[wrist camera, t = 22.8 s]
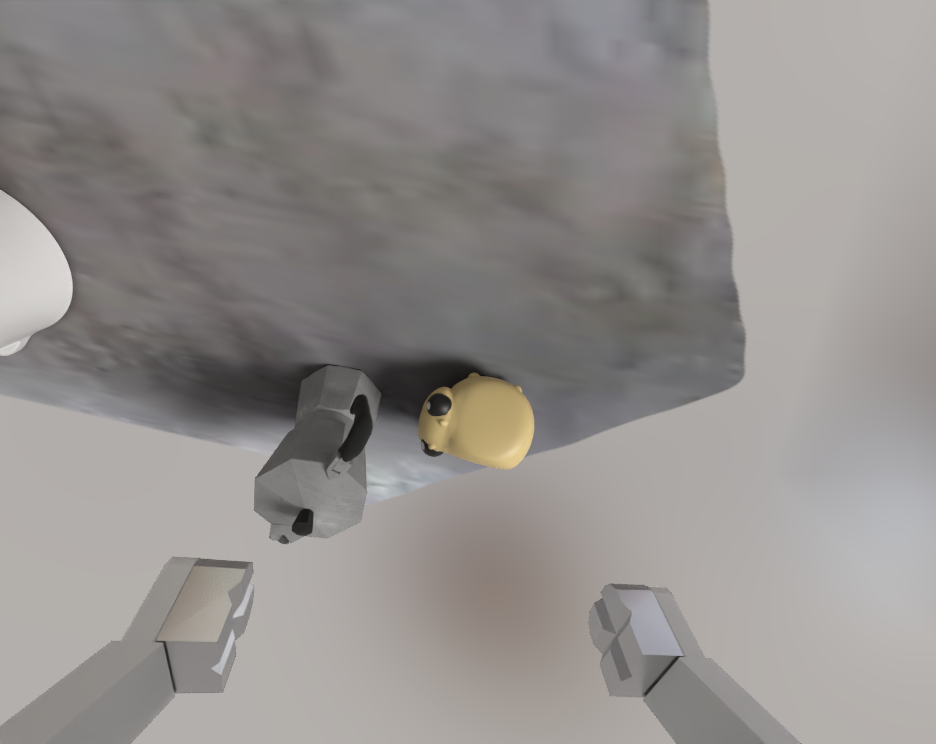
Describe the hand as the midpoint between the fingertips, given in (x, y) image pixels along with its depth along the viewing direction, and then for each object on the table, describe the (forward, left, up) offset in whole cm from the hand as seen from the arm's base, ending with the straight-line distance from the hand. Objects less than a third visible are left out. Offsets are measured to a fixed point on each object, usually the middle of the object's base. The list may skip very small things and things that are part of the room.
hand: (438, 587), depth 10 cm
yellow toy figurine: (+8, -17, -35) cm, 40 cm away
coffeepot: (-6, -19, -35) cm, 41 cm away
